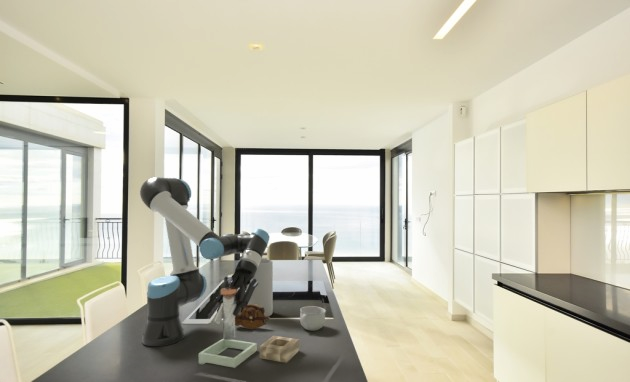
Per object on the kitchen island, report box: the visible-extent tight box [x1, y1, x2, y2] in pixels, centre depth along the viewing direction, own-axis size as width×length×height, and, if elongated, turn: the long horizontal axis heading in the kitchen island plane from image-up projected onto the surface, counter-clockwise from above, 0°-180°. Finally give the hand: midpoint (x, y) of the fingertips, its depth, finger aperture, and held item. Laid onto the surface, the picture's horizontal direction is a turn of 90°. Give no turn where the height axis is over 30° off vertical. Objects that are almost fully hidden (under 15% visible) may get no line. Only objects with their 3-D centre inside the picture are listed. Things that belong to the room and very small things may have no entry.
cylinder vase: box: [245, 258, 274, 317], centre depth 174 cm, size 12×12×25 cm
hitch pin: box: [220, 286, 238, 340], centre depth 126 cm, size 6×6×17 cm
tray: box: [198, 338, 258, 369], centre depth 126 cm, size 14×14×4 cm
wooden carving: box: [235, 304, 271, 330], centre depth 155 cm, size 16×5×10 cm, turn 82°
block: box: [259, 335, 300, 364], centre depth 127 cm, size 10×10×5 cm
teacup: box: [299, 305, 327, 332], centre depth 154 cm, size 14×11×8 cm
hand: (222, 323), depth 122 cm, fingers closed on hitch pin, 4 cm apart
